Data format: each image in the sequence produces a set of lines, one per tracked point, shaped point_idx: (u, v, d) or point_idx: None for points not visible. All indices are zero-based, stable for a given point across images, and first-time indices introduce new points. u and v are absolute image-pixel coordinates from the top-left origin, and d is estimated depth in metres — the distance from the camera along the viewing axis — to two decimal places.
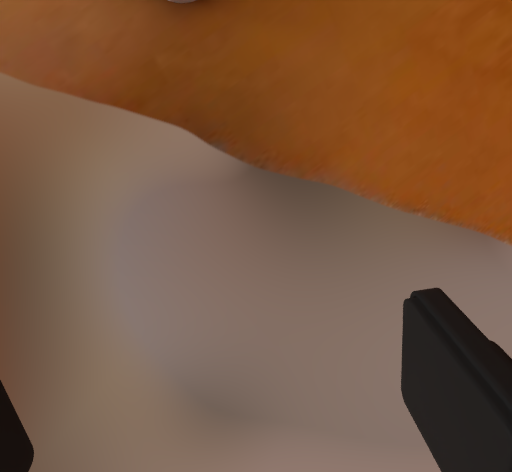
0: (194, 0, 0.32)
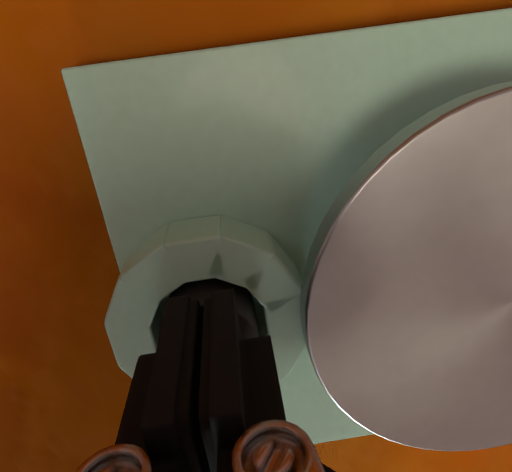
0: None
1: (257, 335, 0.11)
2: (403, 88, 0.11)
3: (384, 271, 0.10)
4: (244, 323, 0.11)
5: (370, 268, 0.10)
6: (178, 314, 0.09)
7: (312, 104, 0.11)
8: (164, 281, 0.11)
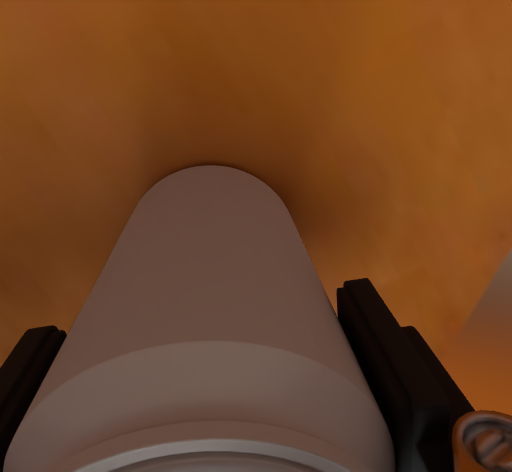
0: None
1: None
2: None
3: None
4: None
5: None
6: (28, 348, 0.09)
7: None
8: None
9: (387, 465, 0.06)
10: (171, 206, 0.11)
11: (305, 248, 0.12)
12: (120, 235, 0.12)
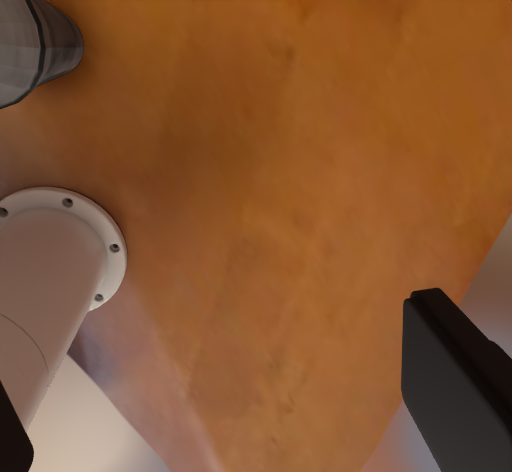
0: None
1: None
2: None
3: None
4: None
5: None
6: None
7: None
8: None
9: None
10: None
11: None
12: None
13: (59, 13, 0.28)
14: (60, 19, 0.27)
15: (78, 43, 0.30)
